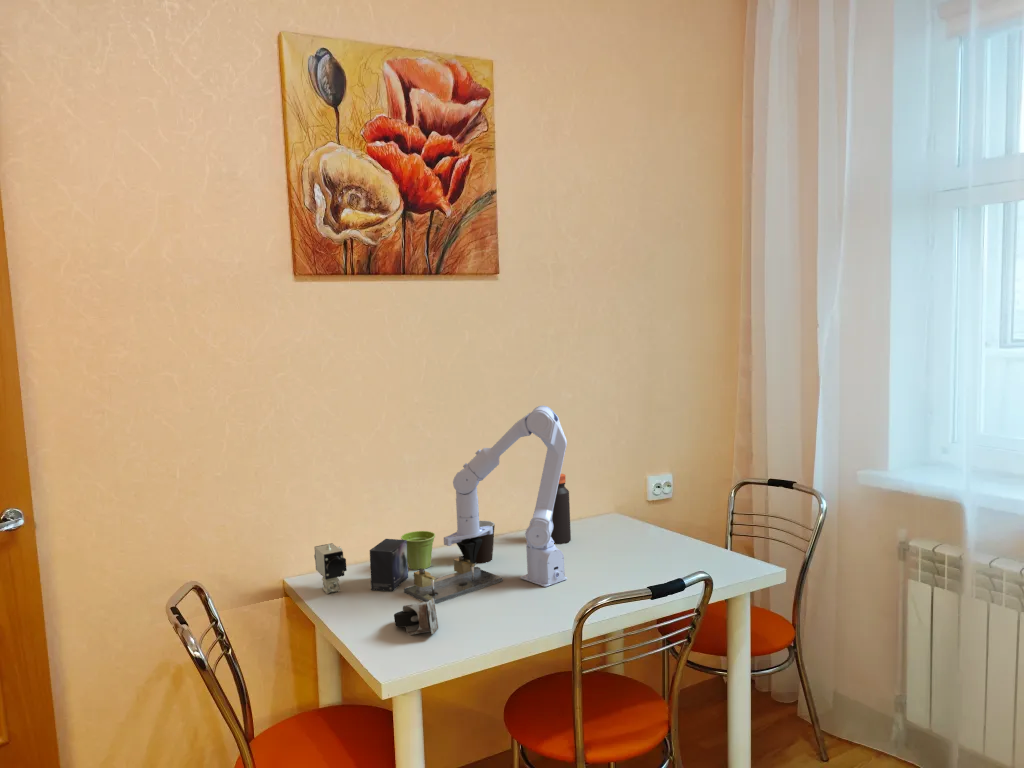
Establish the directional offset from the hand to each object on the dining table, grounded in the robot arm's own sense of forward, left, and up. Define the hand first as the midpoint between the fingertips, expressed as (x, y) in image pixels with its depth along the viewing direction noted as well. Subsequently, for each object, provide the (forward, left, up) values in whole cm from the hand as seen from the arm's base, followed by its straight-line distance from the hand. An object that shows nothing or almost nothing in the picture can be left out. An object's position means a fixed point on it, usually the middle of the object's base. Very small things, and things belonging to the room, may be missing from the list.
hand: (470, 566), depth 193 cm
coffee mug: (+11, -12, -3) cm, 17 cm away
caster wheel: (-17, +28, -3) cm, 33 cm away
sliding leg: (-2, +3, -1) cm, 3 cm away
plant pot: (+18, +4, -3) cm, 19 cm away
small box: (+12, +17, -3) cm, 21 cm away
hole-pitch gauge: (-2, +7, -3) cm, 8 cm away
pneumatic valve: (+19, +30, -3) cm, 35 cm away
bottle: (+6, -38, -3) cm, 39 cm away
